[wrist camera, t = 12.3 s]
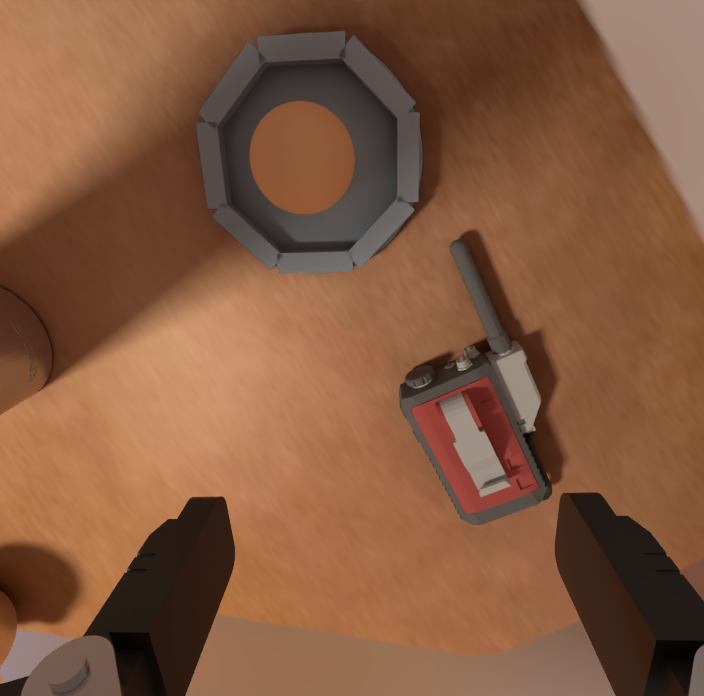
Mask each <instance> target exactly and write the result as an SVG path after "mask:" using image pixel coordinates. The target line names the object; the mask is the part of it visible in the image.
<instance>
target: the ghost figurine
mask: <svg viewBox="0 0 704 696" xmlns="http://www.w3.org/2000/svg"><path fill="white" fill-rule="evenodd" d="M16 631H17V615H16V611H15V608H14V606H13V604H12V602H11V600H10V599H9V598H8V596H7V595H6V594H4V593H3V592H2V591H1V590H0V667H1V665H2V664H3V662H4V661H5V660H6V658H7V656H8V654H9V652H10V650H11V648H12V646H13V643H14V640H15V636H16Z"/></svg>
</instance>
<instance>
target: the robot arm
mask: <svg viewBox="0 0 704 696" xmlns="http://www.w3.org/2000/svg"><path fill="white" fill-rule="evenodd" d="M51 368H52V350H51V344H50V341H49V338H48V336H47V333H46V331H45V329H44V327H43V325H42V324H41V322H40V320H39V319H38V317H37V316H36V315H35V314H34V313H33V311H32V310H31V309H30V308H29V307H28V306H27V305H26V304H25V303H24V302H22V301H21V300H20V299H19V298H18V297H16V296H15V295H14V294H12V293H10V292H8V291H7V290H5V289H3V288H1V287H0V415H1V414H3V413H4V412H6V411H8V410H9V409H11V408H12V407H14V406H16V405H17V404H19V403H21V402H22V401H24V400H26V399H27V398H29V397H30V396H32V395H34V394H35V393H36V392H37V391H39V390H40V389H41V388H42V387H43V386H44V384H45V383H46V381H47V379H48V378H49V375H50V371H51ZM137 554H138V555H137V557H135V558H134V560H133V561H132V563H131V564H130V566H129V567H128V569H127V573H124V575H123V576H122V578H121V579H120V581H119V582H118V584H117V585H116V587H115V589H114V590H113V592H112V593H111V595H110V596H109V598H108V599H107V601H106V602H105V604H104V605H103V607H102V608H101V610H100V611H99V613H98V614H97V616H96V617H95V619H94V621H93V622H92V624H91V625H90V627H89V628H88V630H87V631H86V633H85V634H84V635H83V637H80V638H77V639H74V640H72V641H69V642H67V643H65V644H63V645H62V646H60V647H58V648H57V649H55V650H54V651H52V652H51V653H50V654H49V655H48V656H46V657H45V658H44V659H43V660H42V661H41V662H40V663H39V664H38V665H37V666H36V668H35V669H34V670H33V671H32V673H31V674H30V675H29V676H27V677H24V678H21V679H17V680H14V681H10V682H7V683H3V684H0V696H185V694H186V692H187V689H188V687H189V684H190V682H191V678H192V676H193V674H194V671H195V668H196V666H197V663H198V660H199V658H200V655H201V653H202V650H203V647H204V645H205V642H206V640H207V637H208V634H209V632H210V629H211V626H212V624H213V621H214V619H215V616H216V613H217V611H218V608H219V605H220V603H221V600H222V598H223V595H224V592H225V590H226V587H227V585H228V582H229V579H230V577H231V574H232V571H233V566H234V560H235V546H234V540H233V535H232V530H231V524H230V519H229V514H228V509H227V504H226V501H225V499H224V498H223V497H192V498H190V499H189V501H188V502H187V504H186V505H185V507H184V509H183V510H182V512H181V514H180V515H179V517H178V519H168V520H167V521H166V522H164V523H163V524H162V525H161V526H160V527H159V528H157V529H156V530H155V531H154V532H153V533H151V534H150V535H149V537H148V538H147V540H146V541H145V543H144V544H143V546H142V547H141V549H140V550H139V552H138V553H137ZM555 557H556V562H557V567H558V570H559V573H560V575H561V578H562V580H563V582H564V584H565V586H566V588H567V591H568V593H569V595H570V597H571V599H572V602H573V604H574V606H575V608H576V610H577V612H578V615H579V617H580V619H581V621H582V623H583V625H584V628H585V630H586V632H587V634H588V636H589V639H590V641H591V643H592V645H593V647H594V649H595V652H596V654H597V656H598V658H599V660H600V663H601V665H602V667H603V669H604V671H605V673H606V676H607V678H608V680H609V682H610V684H611V686H612V689H613V691H614V693H615V695H616V696H704V601H703V600H702V599H701V597H700V596H699V595H698V594H697V592H696V591H695V590H694V588H693V587H692V586H691V584H690V583H689V582H688V581H687V579H686V578H685V577H684V575H681V574H680V572H679V569H678V568H677V566H676V565H675V564H674V562H673V561H672V560H671V559H670V557H667V556H666V552H665V551H664V550H663V548H662V547H661V546H660V544H659V543H658V542H657V540H656V539H655V538H654V537H653V535H652V534H651V533H650V532H649V531H647V530H646V529H645V528H643V527H642V526H641V525H639V524H638V523H637V522H635V521H634V520H633V519H631V518H630V517H629V516H616V515H615V513H614V512H613V510H612V509H611V508H610V506H609V505H608V503H607V502H606V500H605V499H604V498H603V496H602V495H601V494H599V493H563V494H562V495H561V498H560V504H559V513H558V521H557V530H556V539H555Z"/></svg>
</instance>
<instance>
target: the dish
mask: <svg viewBox="0 0 704 696" xmlns="http://www.w3.org/2000/svg"><path fill="white" fill-rule="evenodd" d="M257 45H258V47H257V48H255V47H254V46H253V45H252V44H251V43H250V42H249V41H248V42H247V44H246V45H245V47H244V48H243V49H242V51H241V52H240V54H239V55H238V57H237V58H236V59H235V61H234V62H233V64H232V65H231V66H230V68H229V69H228V71H227V72H226V74H225V75H224V76H223V78H222V79H221V81H220V82H219V83H218V85H217V86H216V88H215V89H214V91H213V92H212V93H211V95H210V96H209V98H208V99H207V100H206V102H205V103H204V105H203V106H202V108H201V109H200V110H199V112H198V114H199V115H200V116H201V117H202V118H203V119H204V120H205V122H199V123H195V124H196V131H197V138H198V145H199V152H200V160H201V167H202V174H203V181H204V188H205V196H206V203H207V209H216V212H215V213H214V214H213V216H212V218H213V219H214V220H216V221H217V222H218V223H219V224H220V225H221V226H222V227H223V228H224V229H226V230H227V231H228V232H229V233H230V234H231V235H232V236H233V237H234V238H236V239H237V240H238V241H239V242H240V243H241V244H242V245H243V246H244V247H246V248H247V249H248V250H249V251H250V252H251V253H252V254H253V255H254V256H256V257H257V258H258V259H259V260H260V261H261V262H262V263H263V264H264V265H266V266H267V267H268V268H269V269H270V270H272V269H273V268H274V267H275V266H277V267H278V273H307V274H323V273H332V272H342V271H353V269H354V266H356V265H358V266H359V267H360V268H361V267H362V266H363V265H364V264H365V262H366V261H367V260H368V259H369V258H371V257H372V256H373V255H375V254H376V253H378V252H379V251H380V250H381V249H382V248H384V247H385V246H386V245H387V244H388V243H389V242H390V241H391V240H392V239H393V237H394V236H395V235H396V234H397V233H398V231H399V230H400V229H401V227H402V225H403V224H404V222H405V221H406V219H407V218H408V217H409V216H410V215H411V214H412V213H413V212H414V211H415V210H414V209H413V208H412V207H413V205H414V202H418V195H419V185H420V180H421V175H422V164H423V150H422V139H421V133H420V112H415V110H414V108H413V107H414V106H415V104H416V102H415V101H414V100H413V99H412V97H411V96H410V95H409V94H408V93H407V92H406V91H405V90H404V88H403V87H402V85H401V83H400V82H399V81H398V79H397V78H396V77H395V76H394V74H393V73H392V72H391V71H390V69H389V68H388V67H387V66H386V65H385V64H383V63H382V62H381V61H380V60H379V59H378V58H377V57H376V56H374V55H373V54H371V53H370V52H369V51H368V50H367V49H366V48H365V46H364V45H363V44H362V43H361V42H360V41H359V40H358V39H357V38H356V37H355V36H354V35H353V36H352V37H351V39H350V40H346V35H345V31H334V32H317V33H298V34H284V35H267V36H257ZM293 101H307V102H313V103H316V104H319V105H321V106H323V107H325V108H326V109H328V110H329V111H331V112H332V113H333V114H335V115H336V116H337V117H338V118H339V119H340V120H341V122H342V123H343V124H344V126H345V127H346V129H347V131H348V133H349V135H350V137H351V140H352V143H353V147H354V154H355V167H354V173H353V177H352V180H351V182H350V185H349V187H348V189H347V190H346V192H345V193H344V195H343V196H342V197H341V198H340V199H339V200H338V201H337V202H336V203H335V204H334V205H333V206H331V207H329V208H328V209H326V210H324V211H321V212H318V213H314V214H295V213H291V212H288V211H285V210H283V209H281V208H279V207H277V206H276V205H274V204H273V203H272V202H271V201H269V200H268V199H267V197H266V196H265V195H264V194H263V193H262V192H261V190H260V189H259V187H258V185H257V184H256V182H255V179H254V177H253V174H252V170H251V165H250V145H251V140H252V137H253V134H254V132H255V130H256V128H257V126H258V124H259V123H260V121H261V120H262V119H263V118H264V116H265V115H266V114H268V113H269V112H270V111H271V110H273V109H274V108H276V107H278V106H280V105H282V104H285V103H288V102H293Z"/></svg>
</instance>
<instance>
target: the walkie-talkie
mask: <svg viewBox="0 0 704 696" xmlns="http://www.w3.org/2000/svg"><path fill="white" fill-rule="evenodd" d="M450 252H451V254H452V256H453V258H454V261H455V263H456V265H457V267H458V270H459V272H460V274H461V276H462V279H463V281H464V283H465V285H466V288H467V290H468V292H469V294H470V297H471V299H472V301H473V304H474V306H475V308H476V310H477V313H478V315H479V317H480V319H481V322H482V324H483V326H484V328H485V331H486V333H487V335H488V337H487V340H488V342H489V345H490V347H491V349H492V350H491V351H488V352H486V353H485V354H484V353H482V352H480V351H478V350H476V348H475V346H469V347H467V348H465V349H464V354H465V355H464V356H463V357H460V358H459V359H457V360H455V361H453V362H451V363H449V364H446V365H444V366H442V367H440V368H437V369H435V370H434V368H433V367H432V366H430V365H422V366H419V367H417V368H415V369H413V370H412V371H410V372H409V373H408V374H407V375H406V378H405V383H403V384H401V385H400V389H399V396H400V408H401V410H402V412H403V414H404V416H405V418H407V419H408V421H409V423H410V425H411V427H412V428H413V433H414V435H415V436H416V438H417V440H418V442H420V443H421V445H422V447H423V449H424V451H425V453H426V455H427V456H428V457H429V459H430V462H431V463H432V464H433V468H434V469H436V473H437V475H439V479H440V480H441V481H442V484H443V486H445V489H446V492H448V495H449V497H450V498H451V500H452V503H453V504H454V506H455V509H457V512H458V514H459V515H460V517H461V519H462V520H464V521H466V522H468V523H471V524H473V525H481V524H484V523H487V522H490V521H493V520H496V519H498V518H501V517H504V516H507V515H510V514H512V513H515V512H518V511H521V510H524V509H526V508H529V507H532V506H535V505H537V504H539V503H540V502H541V501H542V500H546V499H548V498H549V497H550V496H551V494H552V486H551V484H550V481H549V479H548V477H547V475H546V473H545V470H544V468H543V466H542V464H541V461H540V459H539V457H538V455H537V452H536V450H535V447H534V445H533V431H535V430H536V429H535V427H534V421H535V418H536V415H537V412H538V409H539V406H540V404H541V396H540V394H539V391H538V389H537V387H536V384H535V382H534V379H533V377H532V375H531V372H530V370H529V367H528V365H527V363H526V360H527V356H526V354H525V352H524V350H523V348H522V347H521V346H520V344H519V343H518V342H517V341H516V340H514V341H512V342H511V341H510V338H509V336H508V334H507V332H506V331H505V330H503V328H502V325H501V323H500V321H499V319H498V316H497V314H496V312H495V309H494V307H493V305H492V302H491V300H490V298H489V295H488V293H487V291H486V288H485V286H484V284H483V281H482V279H481V277H480V275H479V272H478V270H477V268H476V265H475V263H474V261H473V258H472V256H471V254H470V251H469V249H468V247H467V244H466V243H465V242H464V241H463V240H460V239H458V240H455V241H453V242H452V243H451V245H450ZM525 432H526V435H525V437H524V435H523V433H525Z"/></svg>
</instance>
